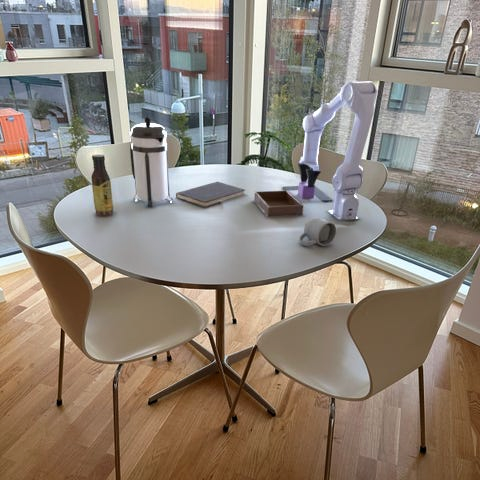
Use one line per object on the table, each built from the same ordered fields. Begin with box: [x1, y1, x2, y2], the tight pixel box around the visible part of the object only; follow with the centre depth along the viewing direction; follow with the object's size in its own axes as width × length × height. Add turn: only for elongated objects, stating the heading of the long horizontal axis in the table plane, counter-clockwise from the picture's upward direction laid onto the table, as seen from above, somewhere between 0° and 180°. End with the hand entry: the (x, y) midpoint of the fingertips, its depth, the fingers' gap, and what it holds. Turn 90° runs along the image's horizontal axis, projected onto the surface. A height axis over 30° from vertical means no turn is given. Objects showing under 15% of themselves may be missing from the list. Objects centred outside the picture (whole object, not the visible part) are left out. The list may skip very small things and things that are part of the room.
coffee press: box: [129, 116, 174, 208], centre depth 169 cm, size 17×16×30 cm
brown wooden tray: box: [254, 190, 304, 218], centre depth 173 cm, size 18×13×4 cm
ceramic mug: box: [299, 216, 337, 247], centre depth 146 cm, size 11×8×8 cm
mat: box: [282, 185, 333, 203], centre depth 191 cm, size 20×14×1 cm
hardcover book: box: [175, 181, 246, 209], centre depth 183 cm, size 16×23×2 cm
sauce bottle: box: [91, 154, 114, 217], centre depth 158 cm, size 7×6×20 cm
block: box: [297, 181, 316, 199], centre depth 186 cm, size 5×5×5 cm
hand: (307, 184), depth 184 cm, fingers open, 7 cm apart
